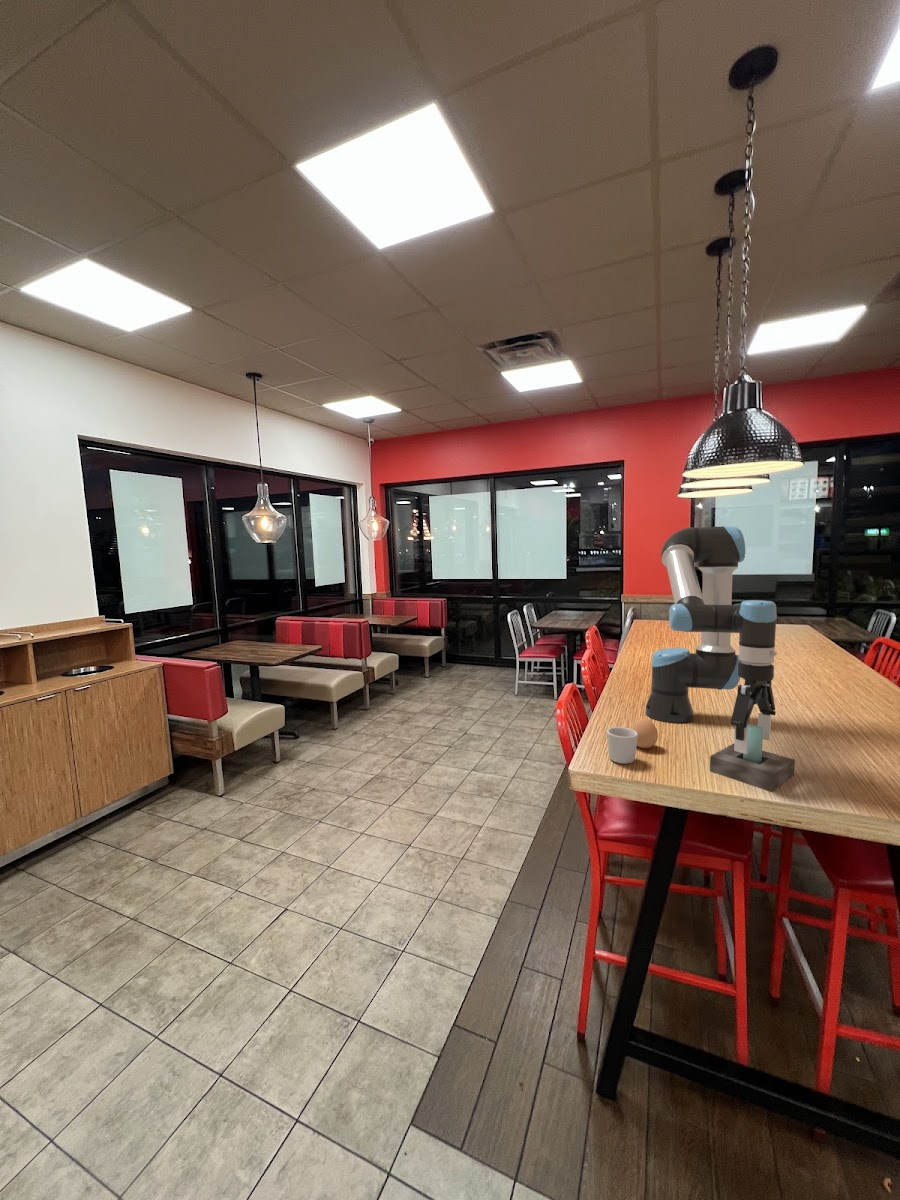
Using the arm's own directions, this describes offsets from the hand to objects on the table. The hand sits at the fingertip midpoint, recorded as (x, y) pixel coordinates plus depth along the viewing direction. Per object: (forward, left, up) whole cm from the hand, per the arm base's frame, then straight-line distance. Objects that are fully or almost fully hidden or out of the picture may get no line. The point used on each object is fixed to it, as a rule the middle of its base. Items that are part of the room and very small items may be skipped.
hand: (752, 745), depth 120 cm
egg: (-26, -6, -8) cm, 28 cm away
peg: (0, 0, -7) cm, 7 cm away
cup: (-26, -18, -8) cm, 32 cm away
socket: (0, 0, -7) cm, 7 cm away
